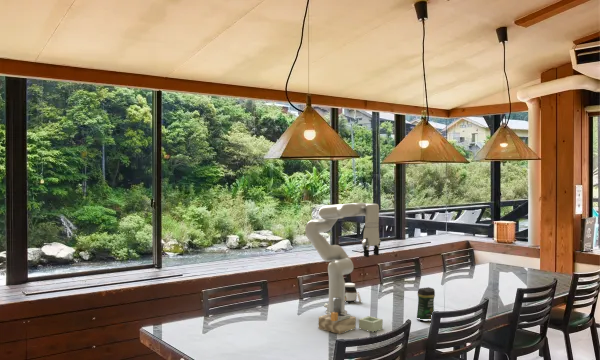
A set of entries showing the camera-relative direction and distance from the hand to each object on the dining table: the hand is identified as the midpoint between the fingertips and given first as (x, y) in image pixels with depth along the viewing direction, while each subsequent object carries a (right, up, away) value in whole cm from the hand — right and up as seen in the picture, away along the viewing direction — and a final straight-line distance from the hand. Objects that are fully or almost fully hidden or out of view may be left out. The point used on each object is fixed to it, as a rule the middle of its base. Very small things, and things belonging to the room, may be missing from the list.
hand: (371, 255), depth 273 cm
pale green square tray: (-2, -37, -14) cm, 39 cm away
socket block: (-20, -36, -15) cm, 44 cm away
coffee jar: (+32, -38, +4) cm, 49 cm away
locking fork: (-22, -30, -19) cm, 41 cm away
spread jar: (-6, -37, +45) cm, 58 cm away
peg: (-20, -36, -15) cm, 44 cm away
